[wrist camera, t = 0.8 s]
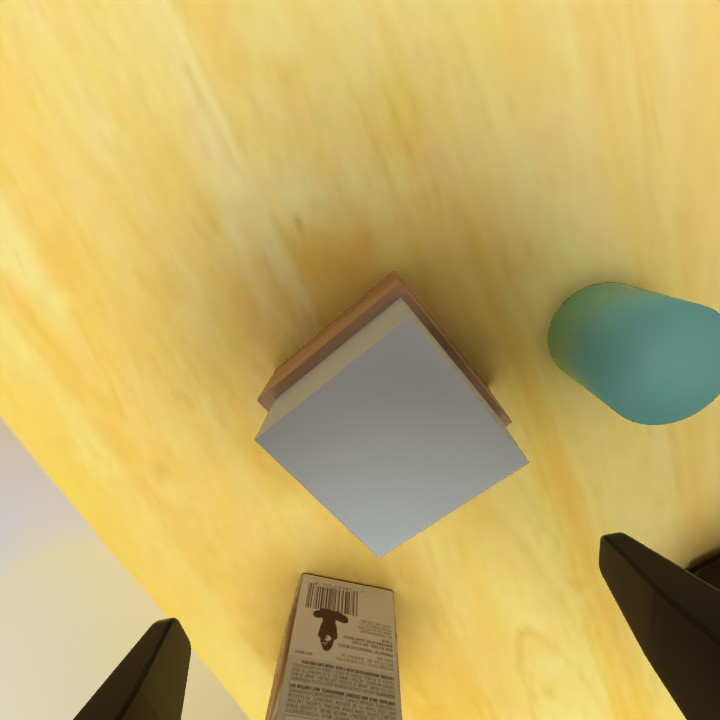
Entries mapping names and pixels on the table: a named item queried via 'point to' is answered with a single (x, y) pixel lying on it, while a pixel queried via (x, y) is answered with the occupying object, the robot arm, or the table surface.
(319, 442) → the tower top
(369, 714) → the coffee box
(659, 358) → the teal cylinder
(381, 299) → the tower base
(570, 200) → the table surface
